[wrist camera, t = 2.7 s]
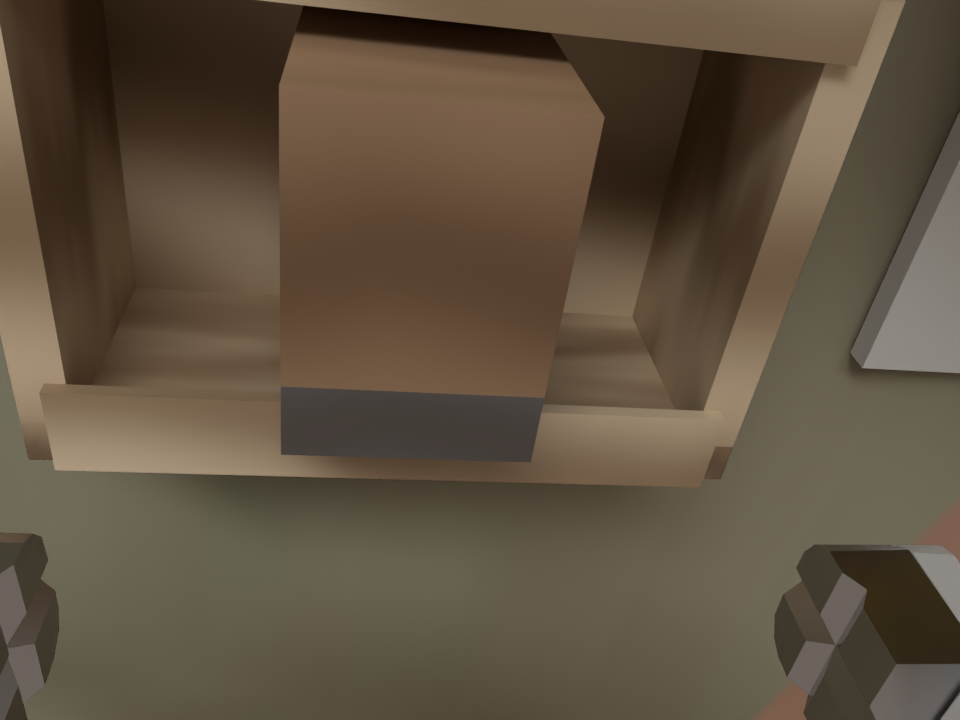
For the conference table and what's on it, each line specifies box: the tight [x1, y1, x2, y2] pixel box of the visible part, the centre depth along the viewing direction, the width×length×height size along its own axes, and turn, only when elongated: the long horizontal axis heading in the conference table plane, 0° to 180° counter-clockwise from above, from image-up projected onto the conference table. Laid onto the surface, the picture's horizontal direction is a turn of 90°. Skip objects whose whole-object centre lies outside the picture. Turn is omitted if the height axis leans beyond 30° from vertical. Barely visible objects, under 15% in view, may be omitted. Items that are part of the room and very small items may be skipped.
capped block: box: [279, 5, 605, 462], centre depth 17 cm, size 6×4×8 cm
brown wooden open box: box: [0, 0, 906, 488], centre depth 18 cm, size 12×15×6 cm
